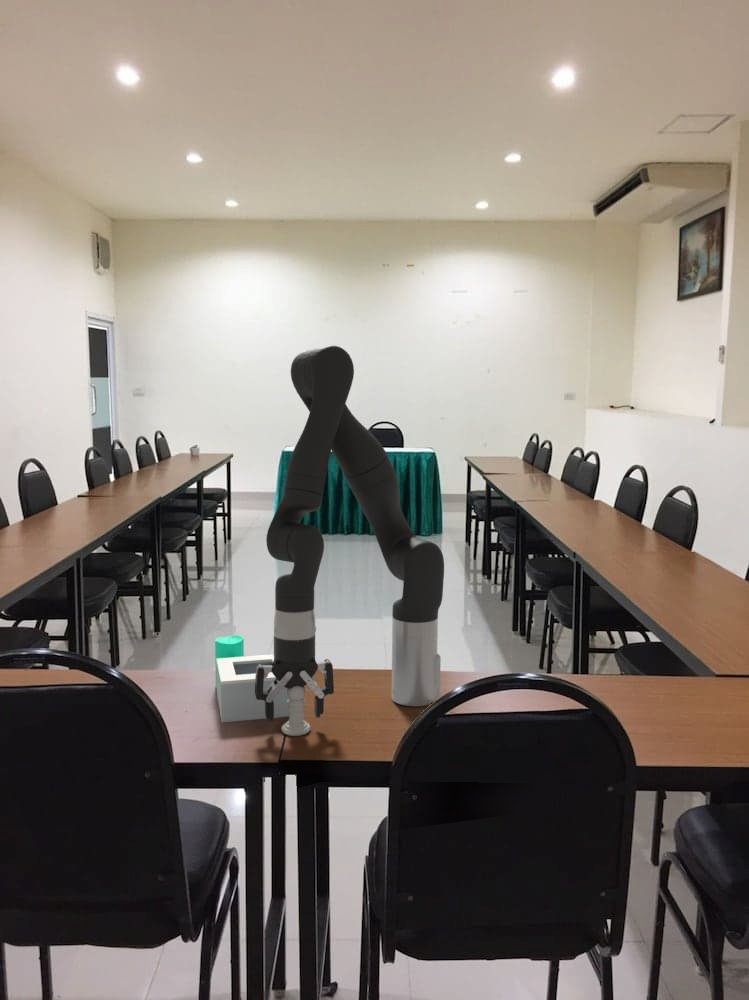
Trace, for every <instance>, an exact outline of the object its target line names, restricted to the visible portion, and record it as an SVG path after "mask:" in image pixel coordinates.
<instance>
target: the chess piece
mask: <svg viewBox="0 0 749 1000" xmlns="http://www.w3.org/2000/svg"><path fill="white" fill-rule="evenodd" d="M287 695H288V698H289V700H288V701H287V704H288V705H287V709H288V710H289V716H288V720H287V721H286V722H285V723H283V724H282V725H281V728H280V729H281V732H282V733H283V734H284V735H286V736H290V737H291V736H292V737H299V736H304V735H306V734H307V733H309V732H310V731H311V725H310V724H309V722H308V721H306V720H304V709H305V708H306V705H305V704H306V700H305V699H304V697H305V696H306V689H305V686H304V687H300V686H295V687H293V688H288V690H287Z"/></svg>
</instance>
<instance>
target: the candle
mask: <svg viewBox="0 0 749 1000" xmlns="http://www.w3.org/2000/svg"><path fill="white" fill-rule="evenodd" d="M230 633H231V632H230V631H228V635H227V636H218V637H217V638H216V639H214V651H215V653H214V656H215V659H214V660H215V668H214V669H215V689H216V688H217V662H216V658H230V657H244V653H245V652H244V650H245V647H244V645H245V643H244V640H245V639H244V637H243V636H242V635H239V634H231V635H230Z"/></svg>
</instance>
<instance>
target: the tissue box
mask: <svg viewBox="0 0 749 1000" xmlns="http://www.w3.org/2000/svg"><path fill="white" fill-rule="evenodd" d="M273 661H274V653H273V654H272V653H271V654H261V655H247V656H244V657H230V658H216V662H217V689H216V697H217V704H218V708H219V709H218V710H220V711H219V716H220V720H221V723H231V722H232V723H233V722H240V721H254V720H261V719H262V720H264V719H265V720H266V719H267V718H266V715H265V701H264V700H257V699H256V695H255V678H256V666H257V664H262V665H263V666H268V665H272V664H273ZM275 678H276V677H275V676H274V675H273V673H272V672H270V673H269V674H268V676H267V677H266V678H264V684H263V691H265V692H266V691H267V690H268V688H269V687H270V686H271V683H272V682H273V680H274V679H275ZM287 690H288V689H287V688H286V687H283V688H282V690H281V691H280V692H279V693H278V694H277V695H276V696H275V698H274V699H273V702H274V719H275V718H276V719H277V718H285V717H286V718H287V717H289V710H288V709H287V705H288V704H287V701H288V700H289V698H288V695H287Z"/></svg>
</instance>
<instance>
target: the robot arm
mask: <svg viewBox="0 0 749 1000" xmlns="http://www.w3.org/2000/svg"><path fill="white" fill-rule="evenodd" d="M354 374H355V367H354V363H353V360H352V358H351V356H350V354H349V353H348V352H347V350H345V349H344V348H342V347H341V346H338V345H324V346H321V347H316V348H312V349H307V350H305V351H302V352H300V353H299V354H297V355H296V356H295V357H294V359H293V360H292V362H291V365H290V378H291V383H292V385H293V387H294V390H295V391H296V393H297V394H298V396H299V398H300V399H301V401H302V402H303V404H304V405H305V406H306V408H307V410H308V411H309V414H308V417H307V420H306V423H305V426H304V428H303V430H302V433H301V434H300V436H299V439H298V440H297V442H296V444H295V447H294V449H293V451H292V453H291V456H290V459H289V462H288V466H287V471H286V475H285V483H284V489H283V495H282V498H281V499H280V501H279V504H278V507H277V508H276V510H275V512H274V513H275V514H273V515H274V516H273V517H272V520H271V521H270V524H269V527H268V530H267V533H266V538H265V540H266V548H267V552H268V553H269V555H270V556H271V557H272V558H273V559H275V560H277V561H283V562H289V563H293V567H292V571H291V573H288V574H283V575H280V576H278V578H277V579H276V581H275V587H274V588H275V590H274V591H275V592H274V595H275V596H274V597H275V598H274V599H275V601H274V603H275V605H274V607H275V608H274V609H275V610H274V619H273V654H274V661H273V664H272V665H268V666H263V665H262V664H257V666H256V678H255V695H256V699H257V700H264V701H265V715H266V718H265V719H267V720H269V722H270V723H273V722H274V721H275V718H274V702H273V699H274V698H275V696H276V695H277V694H278V693H279V692H280V691H281V690H282V688H283V687H286V688H287V689H288V688H293V687H295V686H300V687H304V688H305V686H308V687H309V688H310V689H311V691H313V693H314V694H315V695H314V716H315V718H318V719H319V718H321V715H323V714H324V711H325V708H324V707H325V706H324V705H325V702H324V701H325V697H326V696H328V695H333V694H334V692H335V689H334V687H335V686H334V669H333V668H334V667H333V663H332V662H331V660H330V659H329V658H326V659H324V660H323V661H319V662H318V661H317V660H316V631H317V626H316V613H315V585H316V580H317V577H318V574H319V571H320V566H321V563H322V559H323V557H324V551H325V550H324V549H325V543H324V538H323V534H322V532H321V531H320V529H319V528H317V527H316V526H314V525H311V524H306V523H304V524H303V523H301V521H302V519H303V518H304V516H305V515H306V514H308V513H312V512H315V511H319V509H320V508H321V505H322V502H323V501H322V500H323V494H324V489H325V484H326V477H327V471H328V466H329V462H330V461H329V459H330V455H331V452H332V454H333V456H334V458H335V459H336V461H337V463H338V465H339V468H340V470H341V473H342V474H343V476H344V478H345V480H346V482H347V485H348V486H349V488H350V489H351V492H352V494H353V495H354V497H355V499H356V501H357V502H358V505H359V506H360V508H361V510H362V512H363V514H364V516H365V518H366V519H367V521H368V523H369V525H370V527H371V529H372V531H373V533H374V536H375V538H376V541H377V543H378V546H379V548H380V552H381V554H382V557H383V559H384V562H385V564H386V566H387V568H388V571H389V572H390V573H391V574H392V575H393V576H394V578H396V579H398V580H400V581H401V582H402V583H403V585H402V596H401V598H399V599H397V600H395V601H394V602H393V603H392V611H391V612H392V616H391V617H392V618H391V619H392V622H391V625H392V626H391V628H392V629H391V630H392V631H391V634H392V635H391V645H392V646H391V690H390V691H391V700H392V701H393V702H394V703H396V704H399V705H402V706H407V707H425V706H429V705H432V704H433V703H432V702H434V701H435V700H436V699H437V698H439V697H440V698H441V655H439V653H438V637H439V635H438V631H439V630H438V628H439V627H438V626H439V625H438V624H439V621H438V620H439V610H440V607H441V605H442V601H443V594H444V593H443V592H444V581H445V580H444V579H445V558H444V554H443V552H442V550H441V548H440V547H439V546H438V545H437V544H435V543H434V542H432V541H429V540H426V539H422V538H420V537H417V536H416V535H415V532H413V530H412V529H411V527H410V525H409V523H408V521H407V519H406V517H405V516H404V514H403V513H404V512H403V511H402V507H401V499H400V498H401V497H400V487H399V486H400V485H399V480H398V476H397V473H396V470H395V468H394V466H393V464H392V462H391V460H390V457H389V456H388V454H387V452H386V450H385V449H384V446H383V445H382V444H381V442H380V440H378V439H377V438H376V437H375V436H374V434H373V433H371V431H369V430H368V429H367V428H366V427H365V425H363V424H362V423H361V422H360V421H359V420H358V419H357V418H356V417H355V416H354V414H353V413H352V412H351V410H350V409H349V407H348V406H347V399H348V397H349V394H350V390H351V388H352V385H353V381H354ZM318 670H320V672H321V673H322V674H323V675H324V677H323V678H324V686H322V687H320V685H319V684H318V683H317V682H316V681H315V679H314V678H313V677H314V675H315V674H317V673H316V672H317V671H318ZM270 672H272V673H273V675H274V676H275V677H276V678H275V679H274V680H273V682H272V683H271V686H270V687H269V688H268V690H267V691H266V692H265V691H263V684H264V678H266V677H267V676H268V674H269V673H270ZM431 703H432V704H431ZM434 703H435V702H434Z"/></svg>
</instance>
